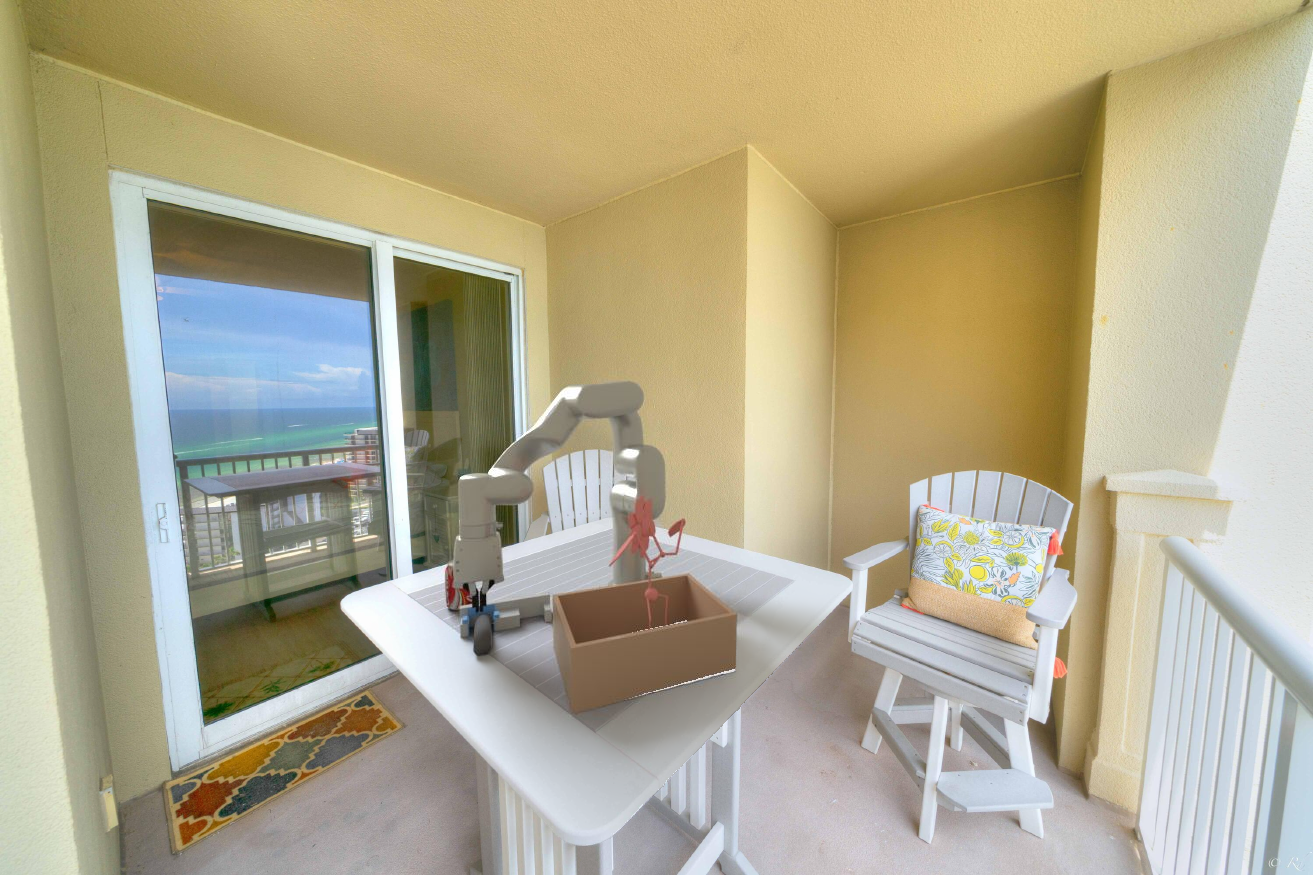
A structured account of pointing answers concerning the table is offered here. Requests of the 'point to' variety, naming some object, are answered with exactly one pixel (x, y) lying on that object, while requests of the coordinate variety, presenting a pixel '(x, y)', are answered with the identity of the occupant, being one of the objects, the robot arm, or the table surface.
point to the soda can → (455, 591)
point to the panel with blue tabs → (507, 612)
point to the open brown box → (639, 639)
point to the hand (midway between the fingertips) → (479, 609)
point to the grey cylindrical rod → (482, 635)
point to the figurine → (647, 542)
